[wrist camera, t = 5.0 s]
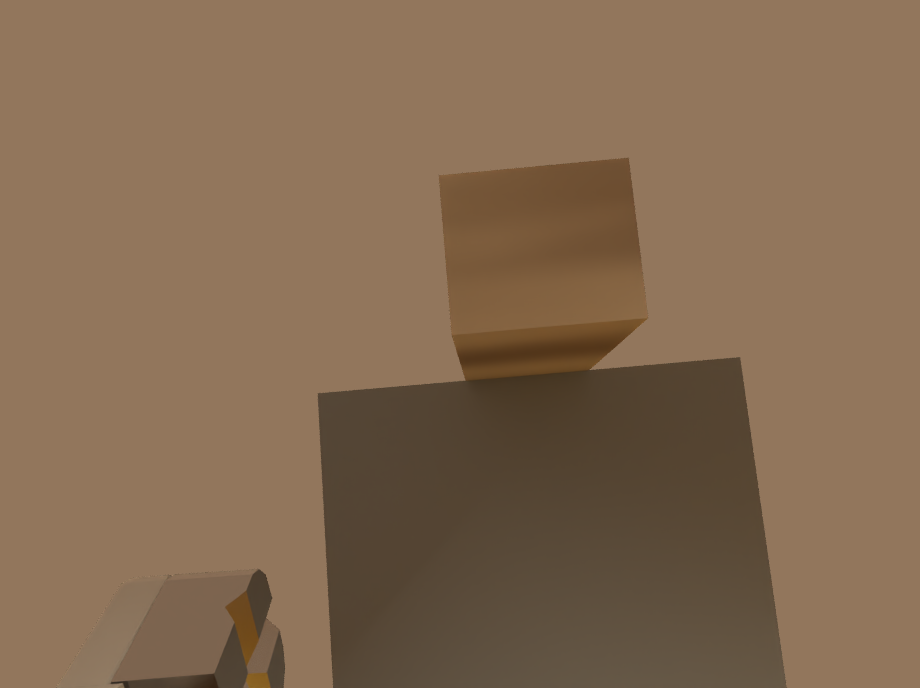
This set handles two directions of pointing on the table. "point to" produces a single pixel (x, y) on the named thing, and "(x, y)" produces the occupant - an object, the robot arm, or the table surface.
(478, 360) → the beech bar
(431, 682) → the pedestal
